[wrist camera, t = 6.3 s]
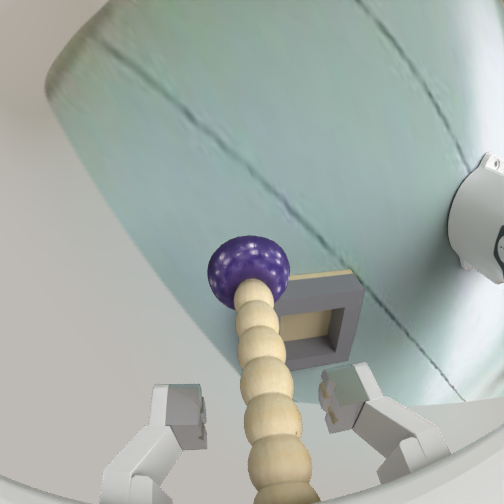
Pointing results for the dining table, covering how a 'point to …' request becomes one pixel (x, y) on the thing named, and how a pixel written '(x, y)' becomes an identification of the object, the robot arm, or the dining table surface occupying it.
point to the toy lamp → (264, 367)
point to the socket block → (319, 317)
